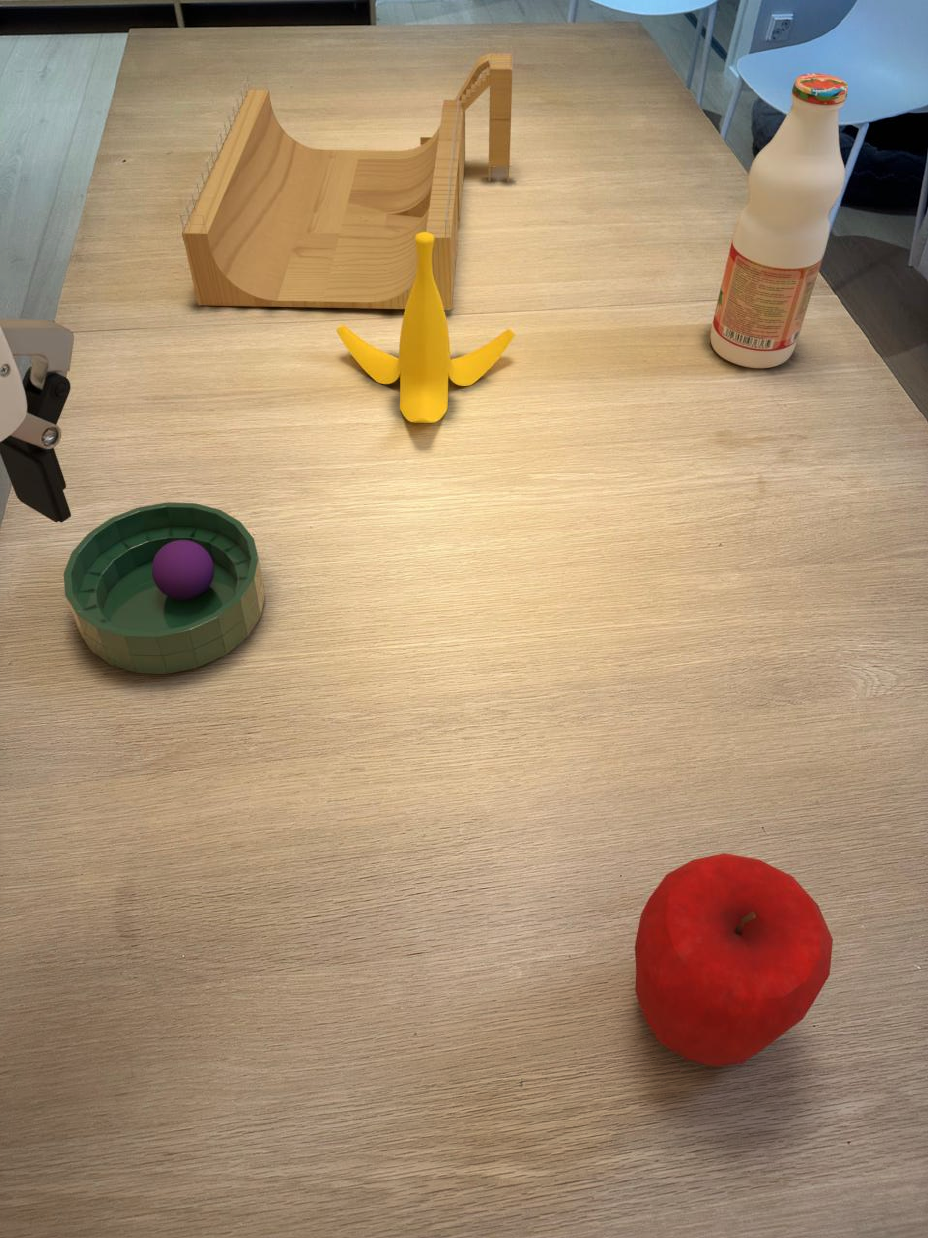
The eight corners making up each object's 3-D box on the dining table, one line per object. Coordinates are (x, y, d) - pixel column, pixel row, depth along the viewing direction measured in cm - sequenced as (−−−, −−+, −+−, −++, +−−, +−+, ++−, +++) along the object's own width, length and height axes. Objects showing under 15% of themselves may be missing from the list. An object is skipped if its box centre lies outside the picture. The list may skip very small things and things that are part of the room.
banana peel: (339, 350, 112) (328, 201, 99) (512, 354, 112) (523, 207, 100) (325, 445, 101) (311, 292, 88) (517, 449, 101) (530, 297, 89)
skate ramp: (259, 159, 145) (240, 35, 133) (509, 163, 144) (513, 38, 132) (199, 312, 118) (168, 173, 106) (506, 317, 117) (510, 178, 105)
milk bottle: (732, 376, 111) (803, 107, 90) (694, 330, 116) (751, 67, 96) (809, 363, 113) (895, 97, 92) (767, 318, 119) (839, 58, 98)
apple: (751, 921, 69) (807, 815, 58) (808, 1079, 62) (883, 990, 52) (598, 942, 67) (629, 837, 57) (640, 1106, 60) (683, 1020, 50)
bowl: (123, 707, 79) (108, 666, 75) (52, 588, 87) (36, 546, 83) (297, 625, 85) (291, 584, 81) (215, 522, 93) (207, 479, 89)
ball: (159, 603, 82) (181, 546, 81) (132, 579, 85) (154, 525, 84) (211, 614, 85) (233, 560, 85) (184, 591, 89) (205, 539, 88)
